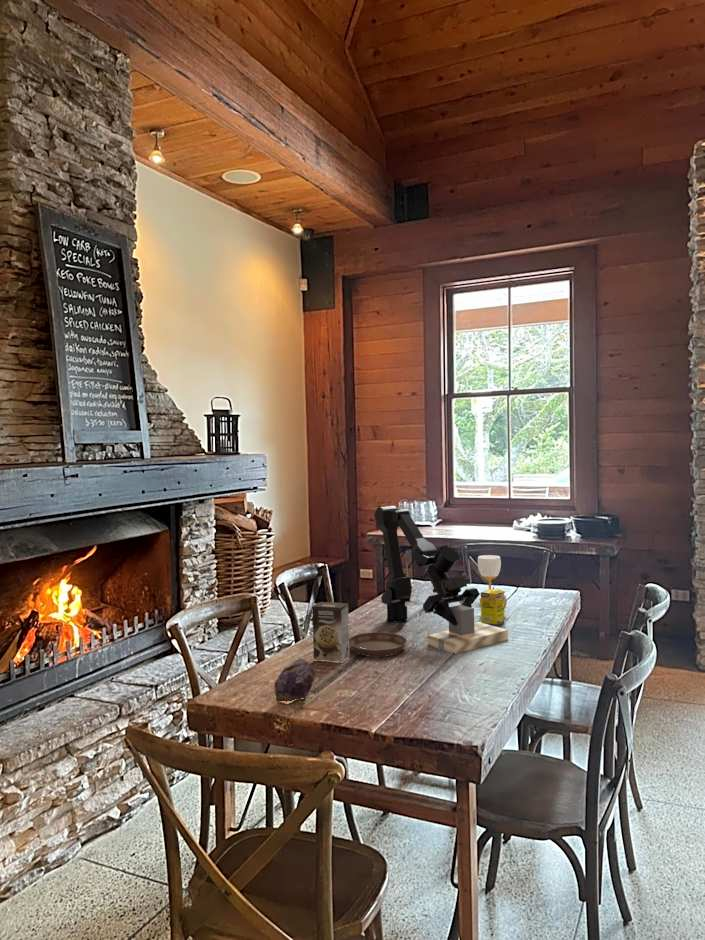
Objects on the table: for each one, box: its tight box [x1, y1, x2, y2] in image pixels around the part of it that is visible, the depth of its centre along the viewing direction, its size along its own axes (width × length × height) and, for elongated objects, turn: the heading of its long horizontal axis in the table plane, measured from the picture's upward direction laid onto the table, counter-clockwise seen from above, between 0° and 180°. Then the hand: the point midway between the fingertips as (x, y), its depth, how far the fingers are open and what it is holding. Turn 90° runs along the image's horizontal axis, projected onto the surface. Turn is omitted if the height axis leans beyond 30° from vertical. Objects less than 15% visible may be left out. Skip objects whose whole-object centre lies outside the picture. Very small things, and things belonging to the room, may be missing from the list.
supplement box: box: [480, 588, 505, 627], centre depth 241 cm, size 6×6×11 cm
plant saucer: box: [349, 631, 408, 657], centre depth 217 cm, size 18×18×3 cm
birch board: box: [427, 621, 509, 655], centre depth 221 cm, size 22×12×3 cm, turn 125°
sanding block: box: [448, 604, 475, 637], centre depth 219 cm, size 6×5×8 cm
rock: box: [274, 658, 316, 702], centre depth 179 cm, size 12×9×10 cm
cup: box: [477, 554, 502, 589], centre depth 276 cm, size 9×9×16 cm
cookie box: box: [311, 601, 350, 662], centre depth 208 cm, size 9×6×16 cm
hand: (464, 623), depth 218 cm, fingers open, 6 cm apart
